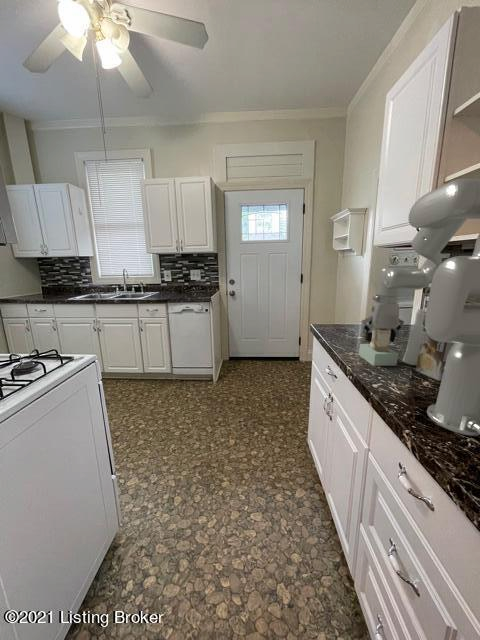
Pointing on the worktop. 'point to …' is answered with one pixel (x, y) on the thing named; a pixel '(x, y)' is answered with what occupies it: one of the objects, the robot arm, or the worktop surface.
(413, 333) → the cosmetic bottle
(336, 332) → the worktop surface
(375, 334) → the beige rectangular block
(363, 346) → the end cap
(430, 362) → the coffee box
